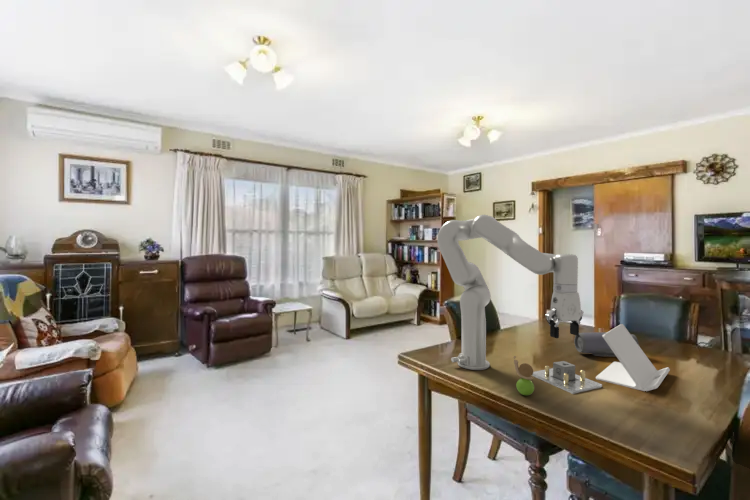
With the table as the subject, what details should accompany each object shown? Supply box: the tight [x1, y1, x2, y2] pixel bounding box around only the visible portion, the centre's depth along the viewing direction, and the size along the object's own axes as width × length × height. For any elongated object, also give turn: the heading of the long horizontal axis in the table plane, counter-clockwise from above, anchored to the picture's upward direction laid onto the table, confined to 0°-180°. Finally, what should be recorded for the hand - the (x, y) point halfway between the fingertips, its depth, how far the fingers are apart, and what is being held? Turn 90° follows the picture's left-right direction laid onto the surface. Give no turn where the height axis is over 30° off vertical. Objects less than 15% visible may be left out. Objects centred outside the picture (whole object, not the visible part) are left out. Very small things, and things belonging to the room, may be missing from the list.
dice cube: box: [552, 360, 576, 381], centre depth 129 cm, size 5×5×5 cm
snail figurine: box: [513, 355, 535, 396], centre depth 118 cm, size 5×6×12 cm
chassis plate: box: [532, 365, 603, 395], centre depth 129 cm, size 14×18×4 cm
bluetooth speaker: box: [573, 331, 640, 358], centre depth 157 cm, size 23×9×10 cm, turn 84°
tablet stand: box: [595, 323, 671, 392], centre depth 132 cm, size 18×25×17 cm
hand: (564, 336), depth 129 cm, fingers open, 9 cm apart
